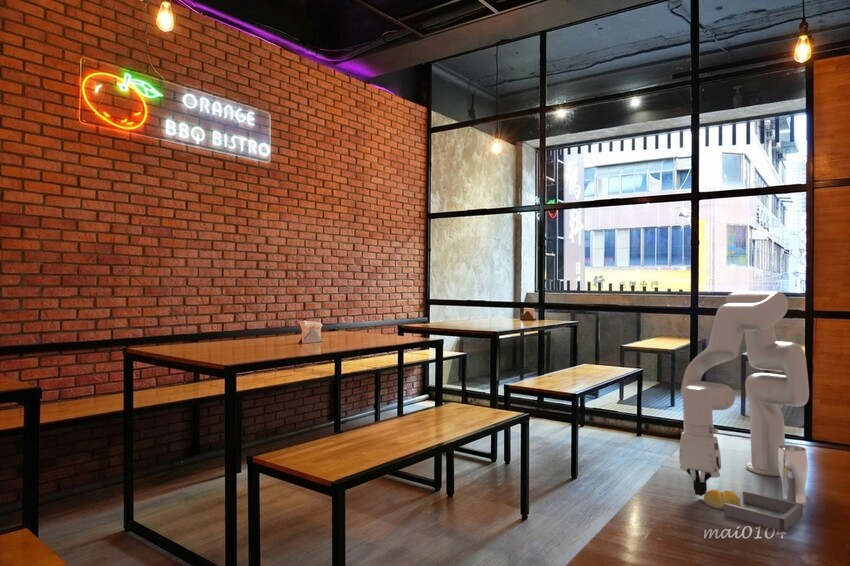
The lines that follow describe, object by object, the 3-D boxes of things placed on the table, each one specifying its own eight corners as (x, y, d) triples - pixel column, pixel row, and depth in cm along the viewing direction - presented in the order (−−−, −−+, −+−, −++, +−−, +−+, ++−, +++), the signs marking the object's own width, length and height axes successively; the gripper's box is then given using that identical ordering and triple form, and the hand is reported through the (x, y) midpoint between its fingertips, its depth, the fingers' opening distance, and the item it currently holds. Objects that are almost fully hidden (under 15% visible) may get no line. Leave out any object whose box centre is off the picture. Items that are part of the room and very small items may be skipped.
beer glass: (814, 507, 150) (812, 451, 150) (785, 505, 151) (783, 451, 151) (802, 497, 156) (800, 444, 157) (775, 496, 158) (773, 444, 158)
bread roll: (704, 497, 159) (704, 483, 159) (740, 503, 154) (740, 488, 154) (702, 508, 151) (702, 493, 151) (740, 513, 147) (740, 498, 147)
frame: (744, 501, 155) (744, 490, 155) (802, 515, 144) (802, 504, 144) (724, 515, 146) (723, 503, 146) (784, 531, 135) (784, 519, 135)
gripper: (731, 432, 154) (733, 498, 154) (678, 423, 166) (680, 484, 165) (720, 436, 149) (722, 505, 149) (666, 427, 161) (668, 490, 161)
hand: (700, 494), depth 157 cm, fingers closed
